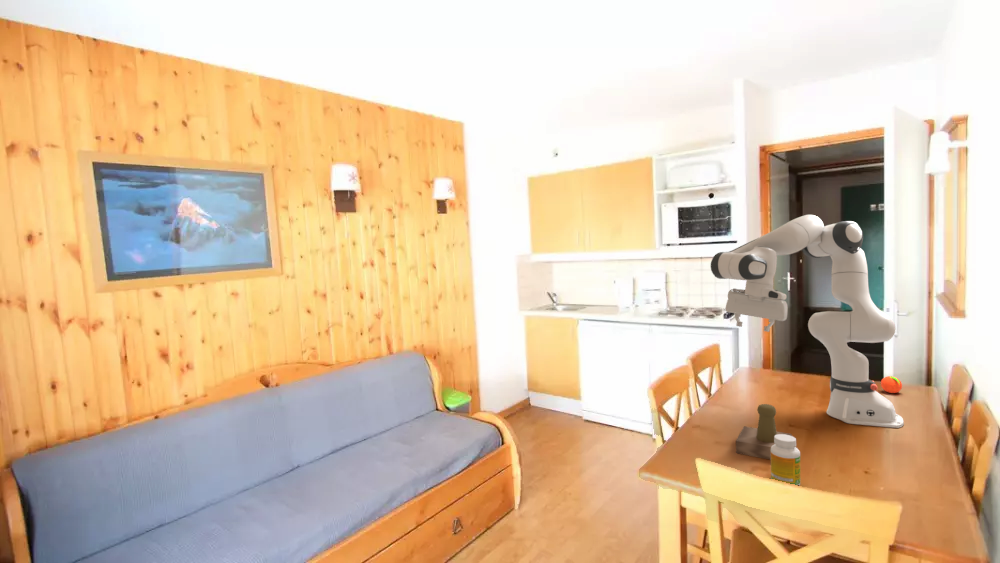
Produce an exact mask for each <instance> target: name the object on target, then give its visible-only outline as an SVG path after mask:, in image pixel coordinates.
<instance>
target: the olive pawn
mask: <svg viewBox="0 0 1000 563" xmlns="http://www.w3.org/2000/svg"><path fill="white" fill-rule="evenodd" d="M757 414H758V423H757V428H758V429H757V436H756V438H757V439H758V440H760V441H763V442H768V443H774V436H775V435H777V432H778V431H777V428H776V426H777V425H776V421H775V416H776V414H777V409H776V407H775V406H773V405H771V404H767V403H763V404H762V403H761V404H758V406H757Z"/></svg>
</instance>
